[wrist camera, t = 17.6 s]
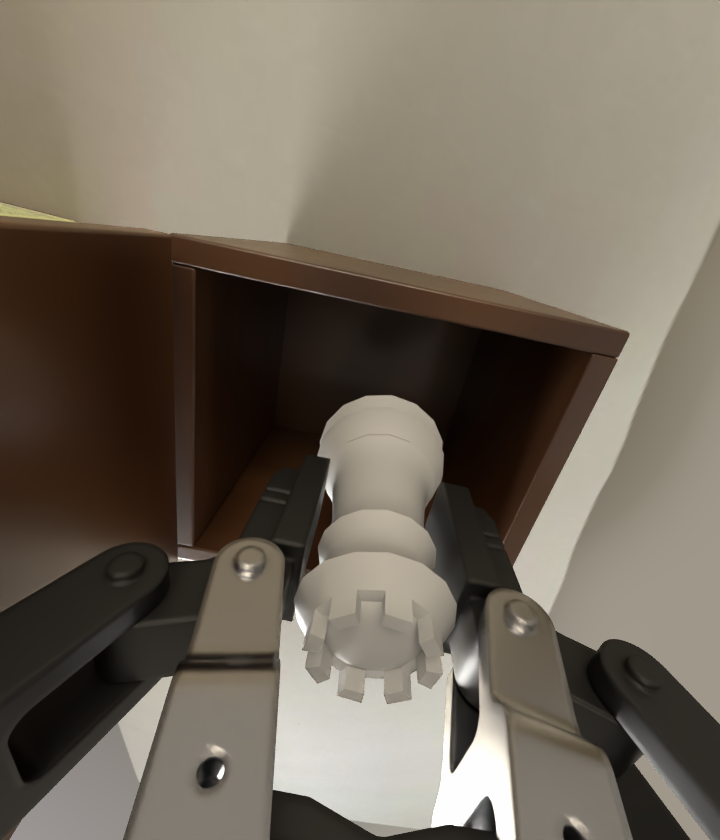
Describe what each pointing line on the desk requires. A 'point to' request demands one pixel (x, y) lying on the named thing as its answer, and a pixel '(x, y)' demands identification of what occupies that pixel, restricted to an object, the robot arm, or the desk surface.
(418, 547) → the rook chess piece
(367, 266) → the chest
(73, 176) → the desk surface
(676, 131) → the desk surface
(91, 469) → the lid
